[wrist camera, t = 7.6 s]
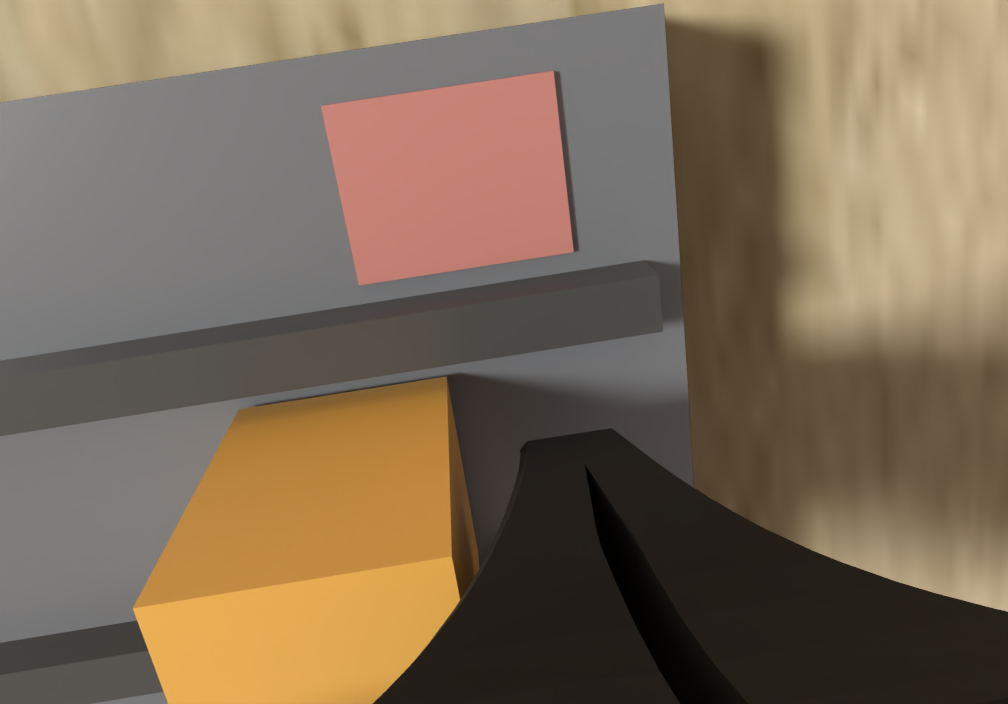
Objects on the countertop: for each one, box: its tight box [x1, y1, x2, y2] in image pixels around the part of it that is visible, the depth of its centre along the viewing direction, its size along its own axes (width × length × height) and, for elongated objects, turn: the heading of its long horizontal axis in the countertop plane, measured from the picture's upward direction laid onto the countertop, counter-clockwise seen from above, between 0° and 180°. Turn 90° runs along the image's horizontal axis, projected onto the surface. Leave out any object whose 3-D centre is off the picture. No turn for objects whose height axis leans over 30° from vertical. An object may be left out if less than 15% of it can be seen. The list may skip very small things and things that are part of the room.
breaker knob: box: [133, 376, 479, 704], centre depth 10 cm, size 3×3×4 cm
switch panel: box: [0, 4, 694, 704], centre depth 13 cm, size 12×18×4 cm, turn 98°
